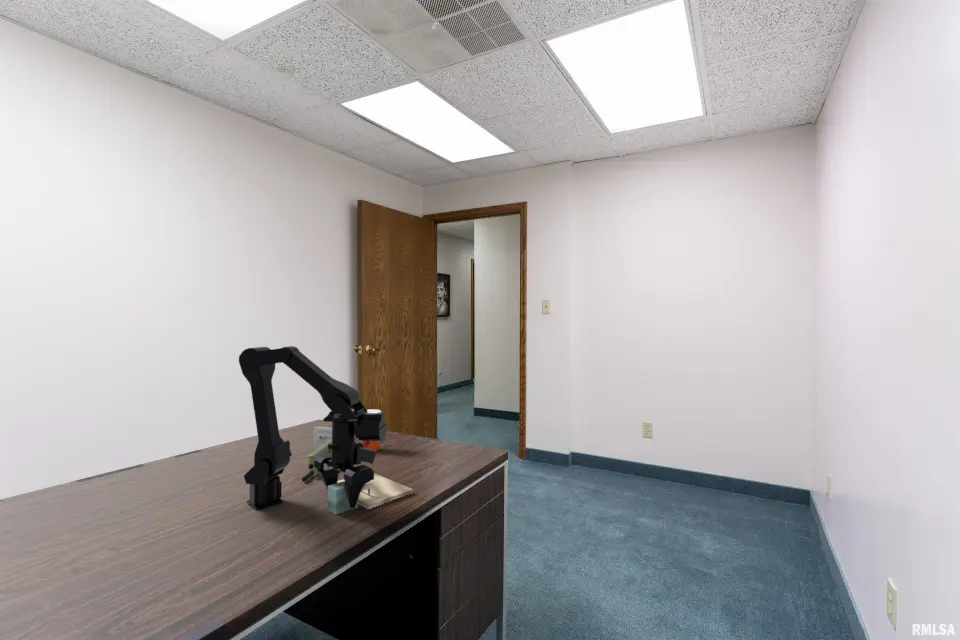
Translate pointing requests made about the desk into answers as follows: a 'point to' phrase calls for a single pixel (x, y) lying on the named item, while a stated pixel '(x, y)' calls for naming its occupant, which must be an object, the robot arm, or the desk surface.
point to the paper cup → (372, 444)
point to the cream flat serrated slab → (381, 492)
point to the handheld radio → (311, 457)
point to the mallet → (341, 497)
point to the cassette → (321, 435)
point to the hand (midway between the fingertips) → (342, 502)
